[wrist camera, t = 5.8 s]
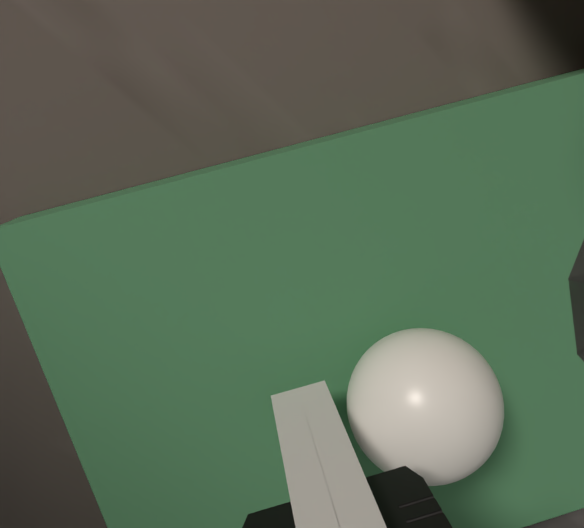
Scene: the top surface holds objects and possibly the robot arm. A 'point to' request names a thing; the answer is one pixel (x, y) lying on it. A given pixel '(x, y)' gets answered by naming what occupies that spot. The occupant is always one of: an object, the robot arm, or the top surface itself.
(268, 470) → the green
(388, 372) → the ball
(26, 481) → the top surface
